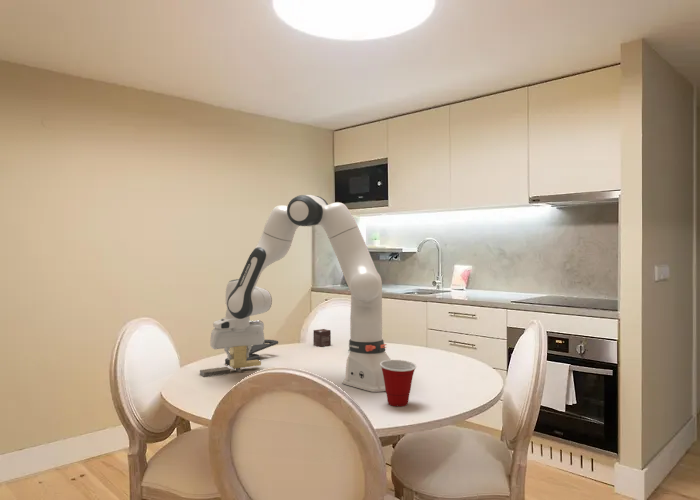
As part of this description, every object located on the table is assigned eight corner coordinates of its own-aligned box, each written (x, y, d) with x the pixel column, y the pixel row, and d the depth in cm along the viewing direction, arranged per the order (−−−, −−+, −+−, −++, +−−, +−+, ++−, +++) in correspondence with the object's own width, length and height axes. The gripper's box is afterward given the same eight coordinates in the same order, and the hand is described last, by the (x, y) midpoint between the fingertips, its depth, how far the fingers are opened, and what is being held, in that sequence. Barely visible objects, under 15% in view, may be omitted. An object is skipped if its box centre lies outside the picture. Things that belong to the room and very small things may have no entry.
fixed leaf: (243, 371, 197) (243, 353, 197) (203, 377, 190) (203, 357, 189) (238, 369, 201) (238, 350, 201) (200, 374, 194) (199, 355, 194)
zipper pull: (280, 340, 225) (237, 350, 205) (280, 356, 226) (237, 367, 205) (265, 338, 231) (221, 348, 210) (265, 354, 231) (221, 364, 210)
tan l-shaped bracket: (256, 363, 205) (256, 342, 205) (261, 365, 201) (261, 344, 201) (229, 366, 199) (229, 345, 199) (233, 368, 195) (234, 347, 195)
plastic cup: (396, 411, 148) (396, 369, 148) (372, 402, 157) (372, 362, 157) (424, 405, 155) (424, 364, 155) (400, 396, 163) (399, 357, 163)
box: (323, 344, 253) (323, 328, 253) (331, 345, 249) (331, 330, 249) (313, 345, 250) (313, 330, 249) (320, 347, 245) (320, 331, 245)
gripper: (260, 318, 207) (261, 353, 207) (208, 322, 196) (209, 360, 196) (266, 320, 201) (267, 356, 201) (213, 325, 191) (214, 363, 191)
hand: (238, 358), depth 199 cm, fingers closed on tan l-shaped bracket, 5 cm apart
